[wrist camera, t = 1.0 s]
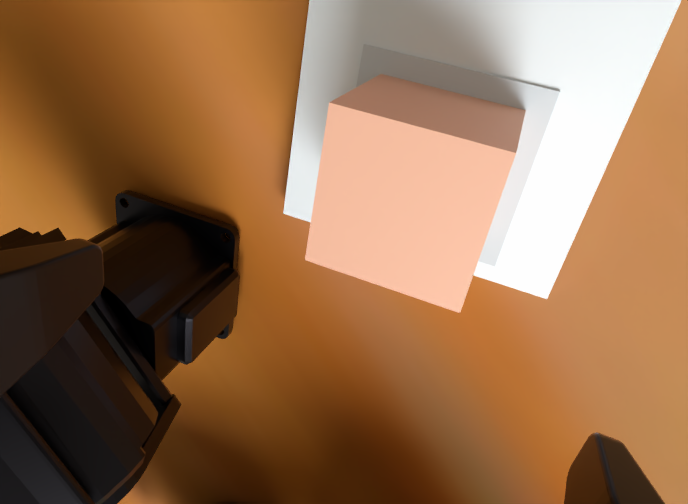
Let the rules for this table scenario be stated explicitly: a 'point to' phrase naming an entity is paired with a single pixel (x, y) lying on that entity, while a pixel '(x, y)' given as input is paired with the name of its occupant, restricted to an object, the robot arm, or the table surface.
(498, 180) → the terracotta block
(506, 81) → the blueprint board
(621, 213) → the table surface
